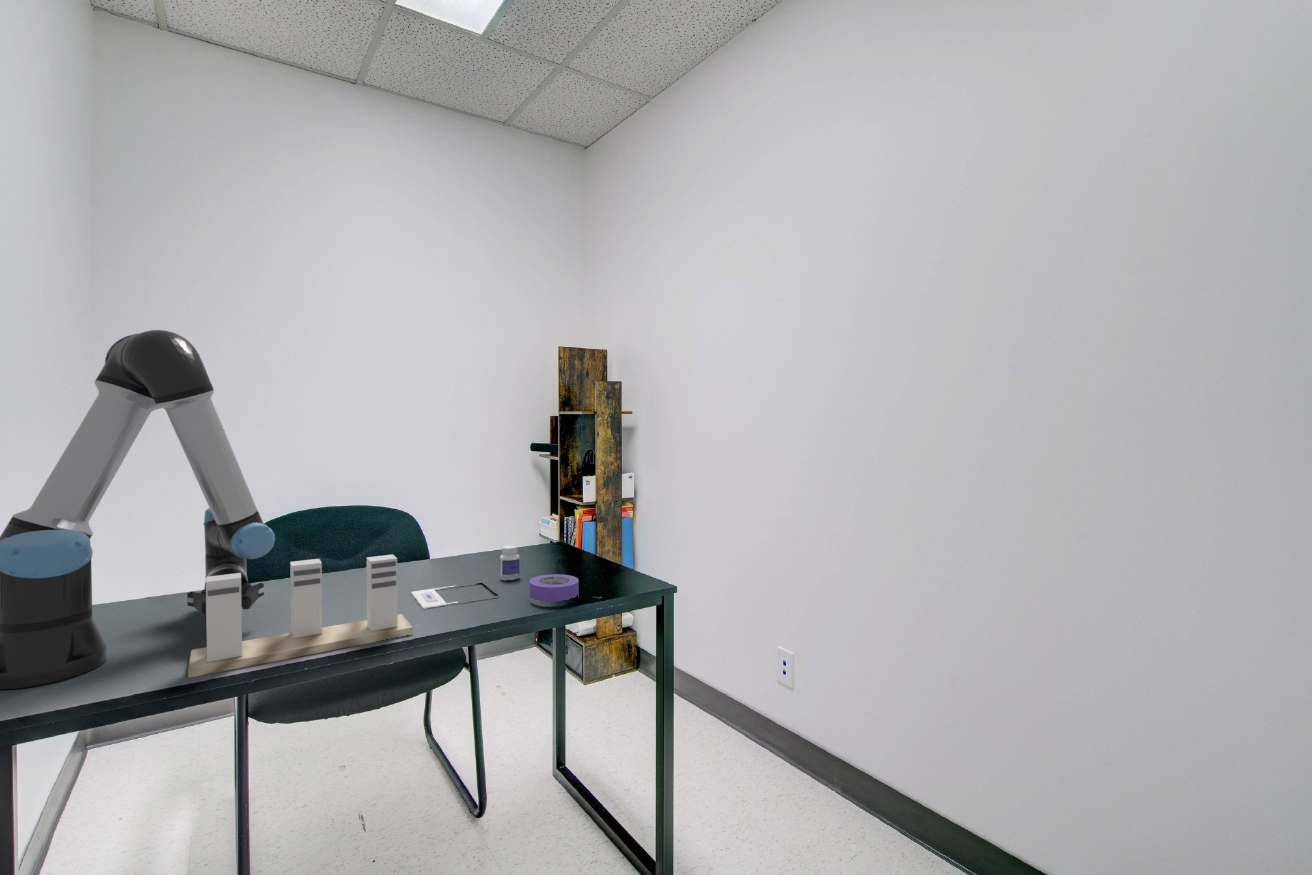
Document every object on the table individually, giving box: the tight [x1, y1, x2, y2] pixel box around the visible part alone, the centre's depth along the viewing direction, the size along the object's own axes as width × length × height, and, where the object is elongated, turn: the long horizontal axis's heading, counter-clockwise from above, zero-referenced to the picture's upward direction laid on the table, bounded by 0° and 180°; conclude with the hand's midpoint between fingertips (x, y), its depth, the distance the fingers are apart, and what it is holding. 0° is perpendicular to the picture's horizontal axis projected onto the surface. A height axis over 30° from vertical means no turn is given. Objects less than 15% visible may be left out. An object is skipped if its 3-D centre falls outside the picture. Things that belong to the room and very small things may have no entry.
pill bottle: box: [499, 544, 521, 577], centre depth 164 cm, size 5×5×9 cm
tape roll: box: [529, 573, 580, 602], centre depth 146 cm, size 12×12×5 cm
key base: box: [187, 613, 414, 679], centre depth 115 cm, size 36×10×2 cm, turn 125°
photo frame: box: [410, 585, 458, 610], centre depth 148 cm, size 15×1×18 cm
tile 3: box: [366, 554, 398, 631], centre depth 122 cm, size 5×4×14 cm
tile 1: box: [205, 573, 243, 662], centre depth 106 cm, size 5×4×14 cm
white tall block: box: [289, 558, 323, 638], centre depth 117 cm, size 5×4×14 cm
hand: (227, 616), depth 108 cm, fingers closed
